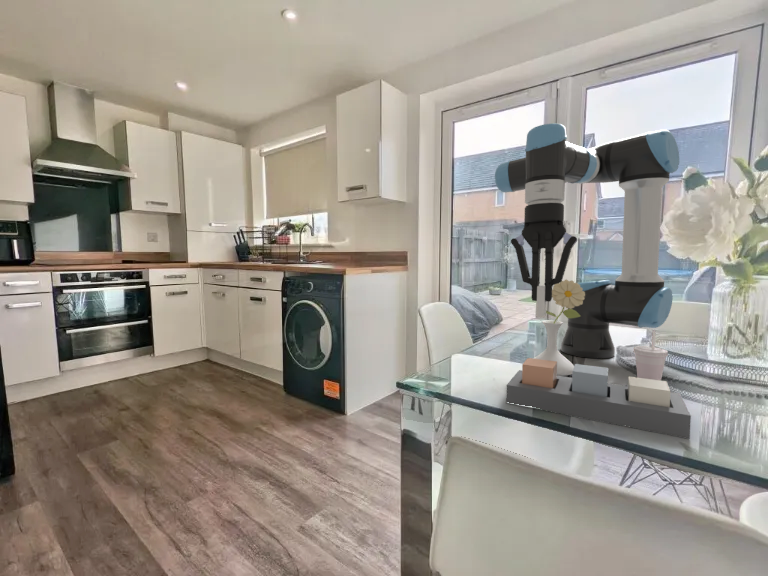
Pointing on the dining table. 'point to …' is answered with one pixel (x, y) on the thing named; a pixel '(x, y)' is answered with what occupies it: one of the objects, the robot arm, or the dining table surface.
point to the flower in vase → (566, 297)
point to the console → (603, 406)
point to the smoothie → (650, 360)
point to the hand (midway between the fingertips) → (541, 316)
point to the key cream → (648, 391)
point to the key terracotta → (539, 373)
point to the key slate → (590, 380)
